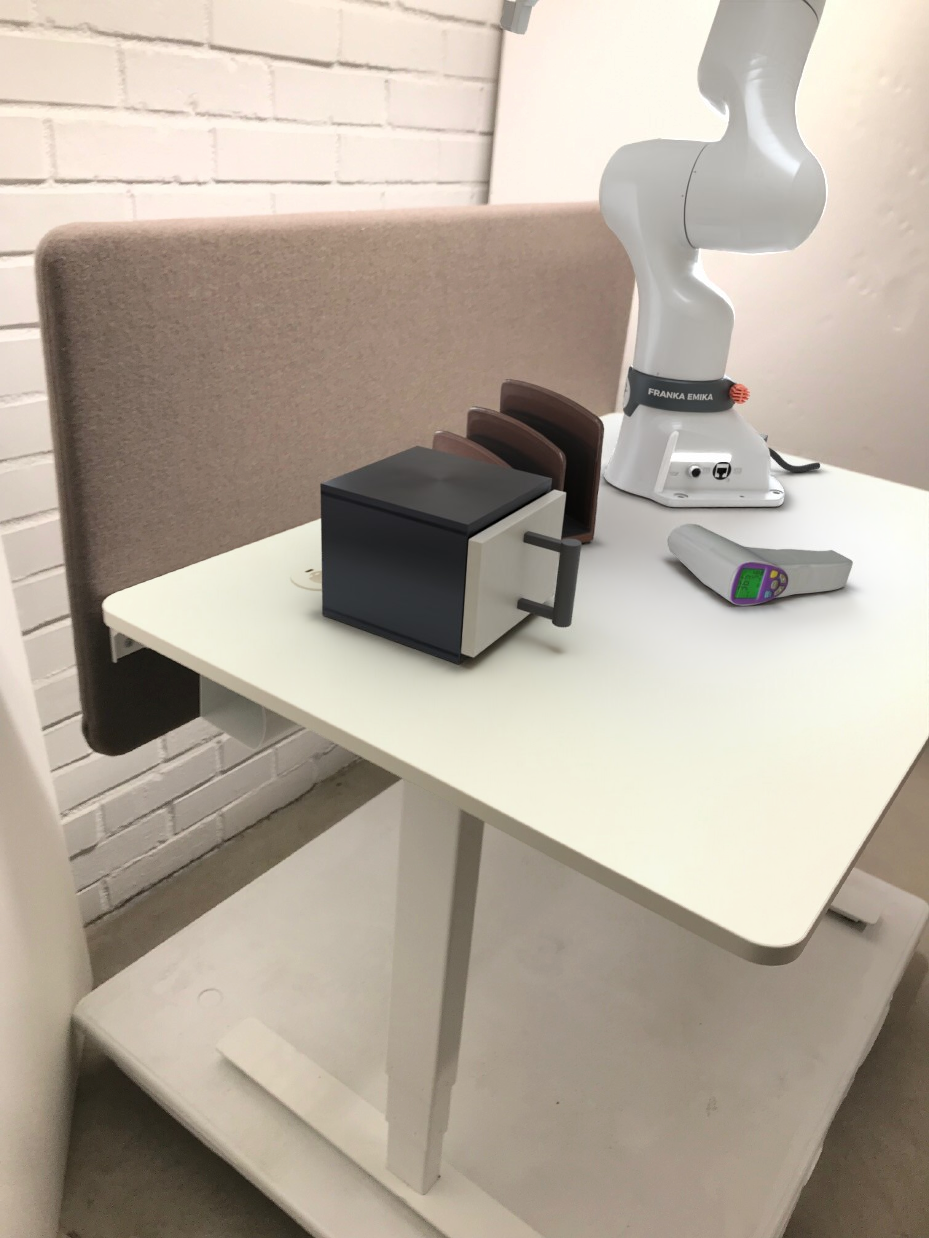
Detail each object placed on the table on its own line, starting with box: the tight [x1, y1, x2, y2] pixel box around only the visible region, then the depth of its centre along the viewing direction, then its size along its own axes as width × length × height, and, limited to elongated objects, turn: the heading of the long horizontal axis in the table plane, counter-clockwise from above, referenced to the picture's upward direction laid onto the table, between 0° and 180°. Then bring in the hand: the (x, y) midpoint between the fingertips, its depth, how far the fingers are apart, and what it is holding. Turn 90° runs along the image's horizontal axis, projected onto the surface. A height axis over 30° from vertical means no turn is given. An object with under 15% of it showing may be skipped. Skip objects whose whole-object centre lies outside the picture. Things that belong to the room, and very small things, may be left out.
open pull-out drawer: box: [461, 490, 582, 658], centre depth 76 cm, size 19×14×10 cm
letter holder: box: [431, 378, 605, 544], centre depth 99 cm, size 10×20×14 cm, turn 29°
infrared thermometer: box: [666, 523, 854, 607], centre depth 91 cm, size 5×12×15 cm
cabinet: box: [319, 445, 552, 665], centre depth 78 cm, size 14×14×12 cm
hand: (457, 14), depth 67 cm, fingers open, 8 cm apart
